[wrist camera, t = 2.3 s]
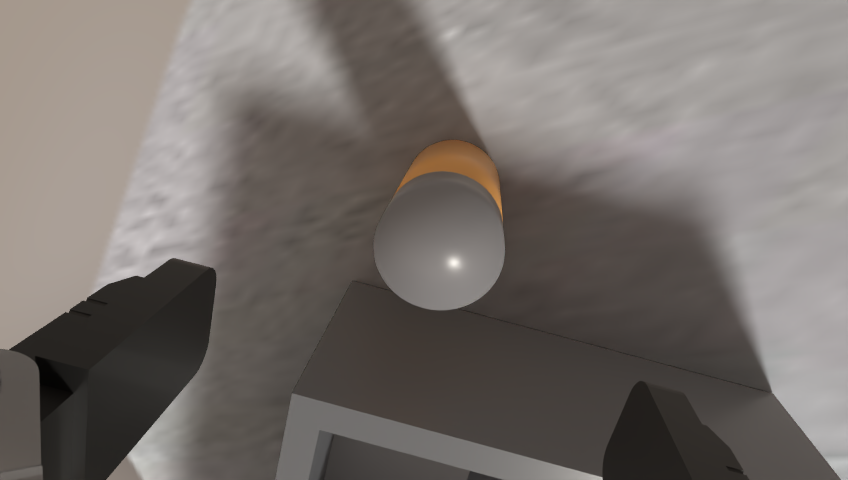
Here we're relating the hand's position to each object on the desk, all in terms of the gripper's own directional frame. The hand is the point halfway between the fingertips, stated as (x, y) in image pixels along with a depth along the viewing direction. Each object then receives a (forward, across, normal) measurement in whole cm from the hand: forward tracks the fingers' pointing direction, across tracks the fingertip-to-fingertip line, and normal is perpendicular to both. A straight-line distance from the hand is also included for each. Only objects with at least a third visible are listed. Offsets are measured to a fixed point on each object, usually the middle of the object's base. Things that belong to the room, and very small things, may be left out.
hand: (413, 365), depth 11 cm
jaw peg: (+12, 0, 0) cm, 12 cm away
